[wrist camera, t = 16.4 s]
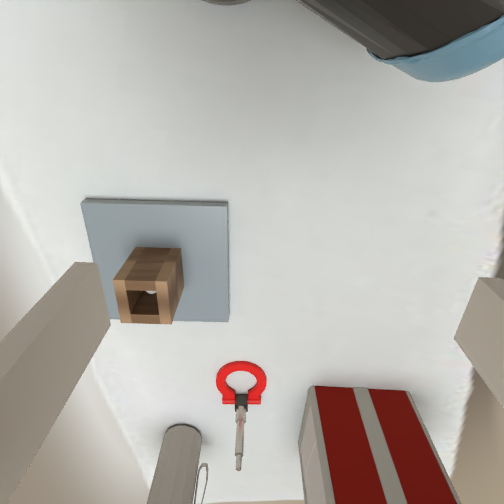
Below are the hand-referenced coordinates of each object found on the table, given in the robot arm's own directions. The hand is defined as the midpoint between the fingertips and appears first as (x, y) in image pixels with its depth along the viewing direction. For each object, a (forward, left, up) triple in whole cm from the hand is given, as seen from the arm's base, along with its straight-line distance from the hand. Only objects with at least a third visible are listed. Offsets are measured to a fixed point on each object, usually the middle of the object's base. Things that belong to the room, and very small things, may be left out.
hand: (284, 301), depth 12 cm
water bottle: (+55, -13, -31) cm, 64 cm away
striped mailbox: (+49, +17, -32) cm, 60 cm away
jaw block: (+17, -14, -30) cm, 37 cm away
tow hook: (+40, -3, -32) cm, 51 cm away
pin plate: (+17, -14, -31) cm, 38 cm away
